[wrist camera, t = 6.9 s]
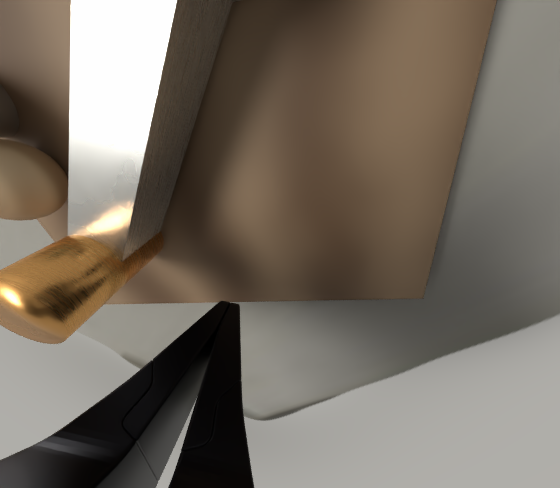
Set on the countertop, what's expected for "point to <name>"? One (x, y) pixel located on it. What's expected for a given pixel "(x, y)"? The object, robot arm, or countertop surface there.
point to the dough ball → (29, 182)
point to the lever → (116, 155)
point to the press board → (286, 145)
